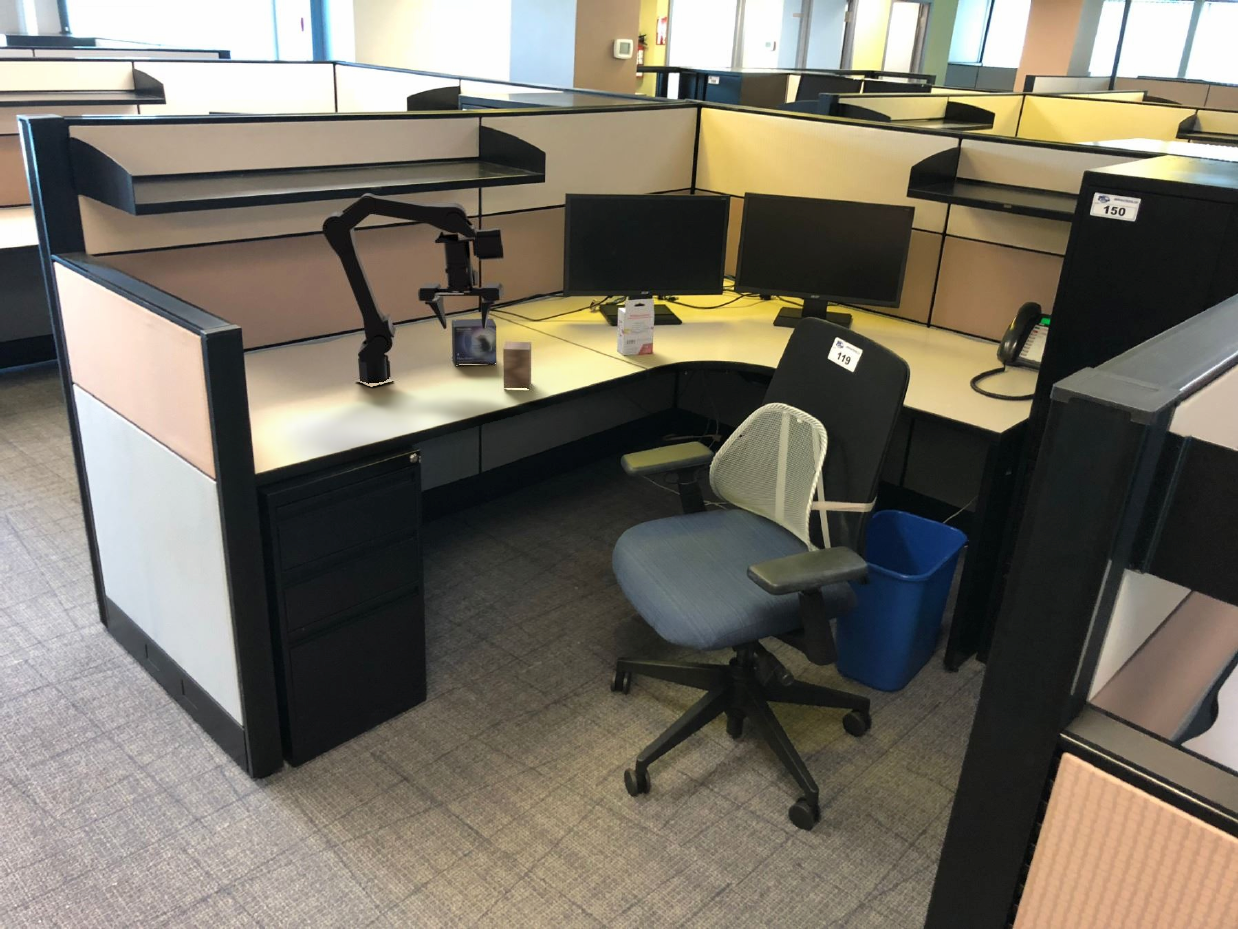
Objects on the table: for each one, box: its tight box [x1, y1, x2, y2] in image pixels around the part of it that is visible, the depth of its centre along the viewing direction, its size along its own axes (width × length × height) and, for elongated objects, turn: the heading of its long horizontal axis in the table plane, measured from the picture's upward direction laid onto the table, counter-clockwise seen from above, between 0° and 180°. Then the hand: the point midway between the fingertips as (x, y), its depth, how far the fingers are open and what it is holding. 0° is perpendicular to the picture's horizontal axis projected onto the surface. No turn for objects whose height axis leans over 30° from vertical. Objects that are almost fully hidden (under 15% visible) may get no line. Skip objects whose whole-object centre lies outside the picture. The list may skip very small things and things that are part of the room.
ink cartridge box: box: [616, 298, 655, 356], centre depth 252 cm, size 9×5×15 cm, turn 112°
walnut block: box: [502, 341, 532, 390], centre depth 224 cm, size 6×6×10 cm
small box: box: [450, 318, 497, 366], centre depth 240 cm, size 11×6×10 cm, turn 105°
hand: (464, 328), depth 223 cm, fingers open, 9 cm apart
